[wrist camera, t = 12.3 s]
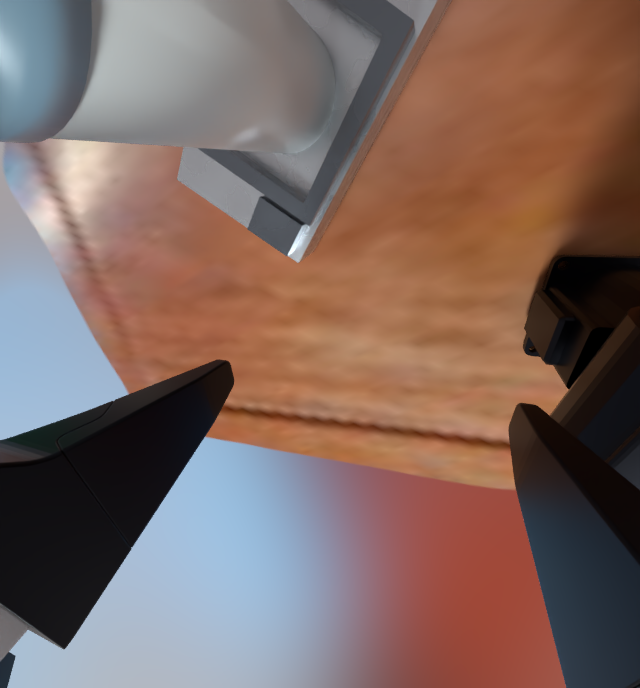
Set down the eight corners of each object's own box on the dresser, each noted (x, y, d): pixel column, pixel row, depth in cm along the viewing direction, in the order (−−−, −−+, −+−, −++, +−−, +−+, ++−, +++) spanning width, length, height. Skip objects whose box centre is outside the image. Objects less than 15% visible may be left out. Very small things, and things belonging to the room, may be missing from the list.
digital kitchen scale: (462, -20, 13) (474, -85, 10) (313, 251, 21) (291, 268, 18) (291, -147, 13) (239, -262, 9) (206, 177, 21) (162, 180, 17)
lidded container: (359, 59, 13) (-17, -485, 2) (305, 176, 16) (38, 206, 5) (259, -13, 13) (-714, -1011, 2) (225, 119, 16) (-232, 24, 5)
